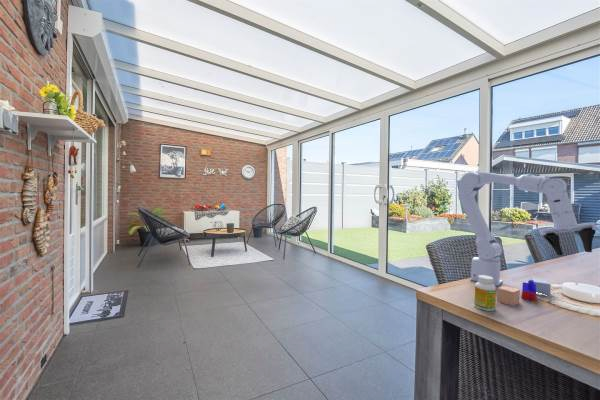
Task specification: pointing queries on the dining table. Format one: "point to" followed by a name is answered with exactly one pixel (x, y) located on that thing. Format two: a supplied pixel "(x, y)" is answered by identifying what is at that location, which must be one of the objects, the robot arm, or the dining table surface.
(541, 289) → the slate blue block
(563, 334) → the dining table surface
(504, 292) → the terracotta block
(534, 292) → the toy building block
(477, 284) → the supplement bottle
